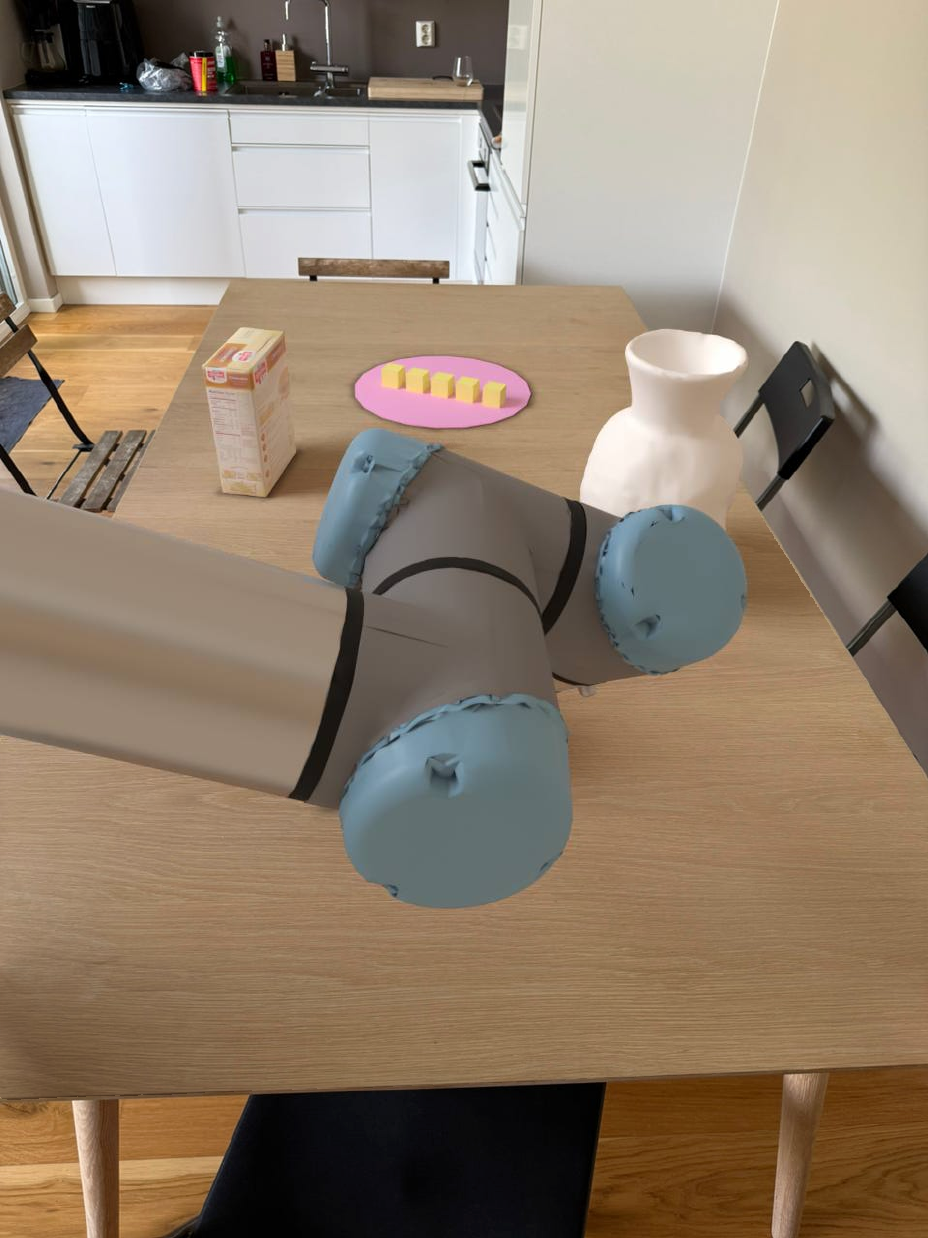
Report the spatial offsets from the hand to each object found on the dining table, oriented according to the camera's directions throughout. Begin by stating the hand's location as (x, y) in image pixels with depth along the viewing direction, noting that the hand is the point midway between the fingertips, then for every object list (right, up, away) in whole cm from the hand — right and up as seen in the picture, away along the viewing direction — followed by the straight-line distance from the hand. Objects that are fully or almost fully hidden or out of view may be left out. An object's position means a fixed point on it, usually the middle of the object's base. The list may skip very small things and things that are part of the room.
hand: (434, 671), depth 73 cm
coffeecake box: (-28, +27, +62) cm, 73 cm away
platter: (-1, +46, +88) cm, 100 cm away
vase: (+26, +11, +44) cm, 52 cm away
